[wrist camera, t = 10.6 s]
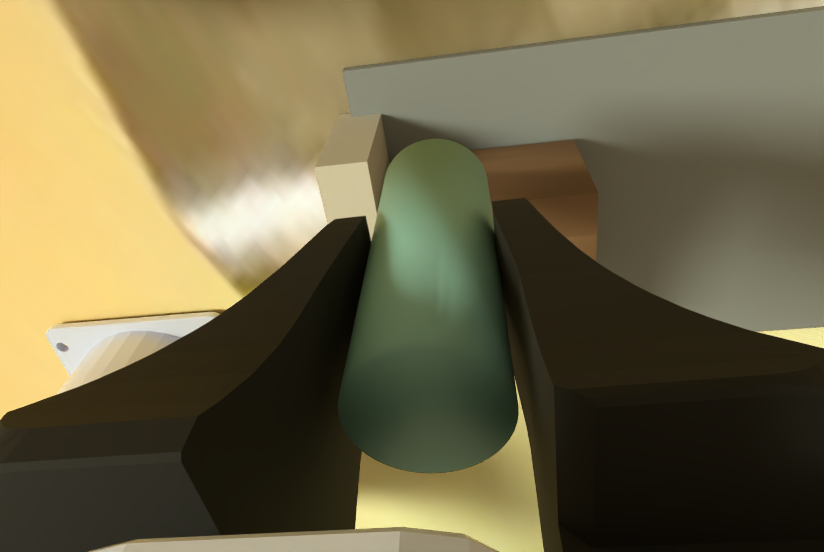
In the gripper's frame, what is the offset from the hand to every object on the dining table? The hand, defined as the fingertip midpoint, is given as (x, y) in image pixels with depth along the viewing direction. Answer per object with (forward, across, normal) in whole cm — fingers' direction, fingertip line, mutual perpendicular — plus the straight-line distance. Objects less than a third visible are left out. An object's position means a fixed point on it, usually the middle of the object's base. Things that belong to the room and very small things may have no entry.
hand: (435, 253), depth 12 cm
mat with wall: (+10, -6, +5) cm, 12 cm away
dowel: (+3, 0, 0) cm, 3 cm away
